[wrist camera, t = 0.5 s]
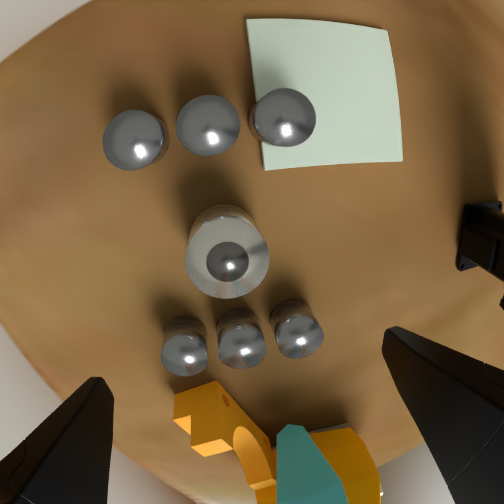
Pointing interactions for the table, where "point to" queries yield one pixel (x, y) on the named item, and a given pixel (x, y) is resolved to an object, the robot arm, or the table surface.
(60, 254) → the table surface
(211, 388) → the pipe clamp
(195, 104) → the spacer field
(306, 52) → the sage mat
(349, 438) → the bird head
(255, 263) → the stepped steel cylinder
